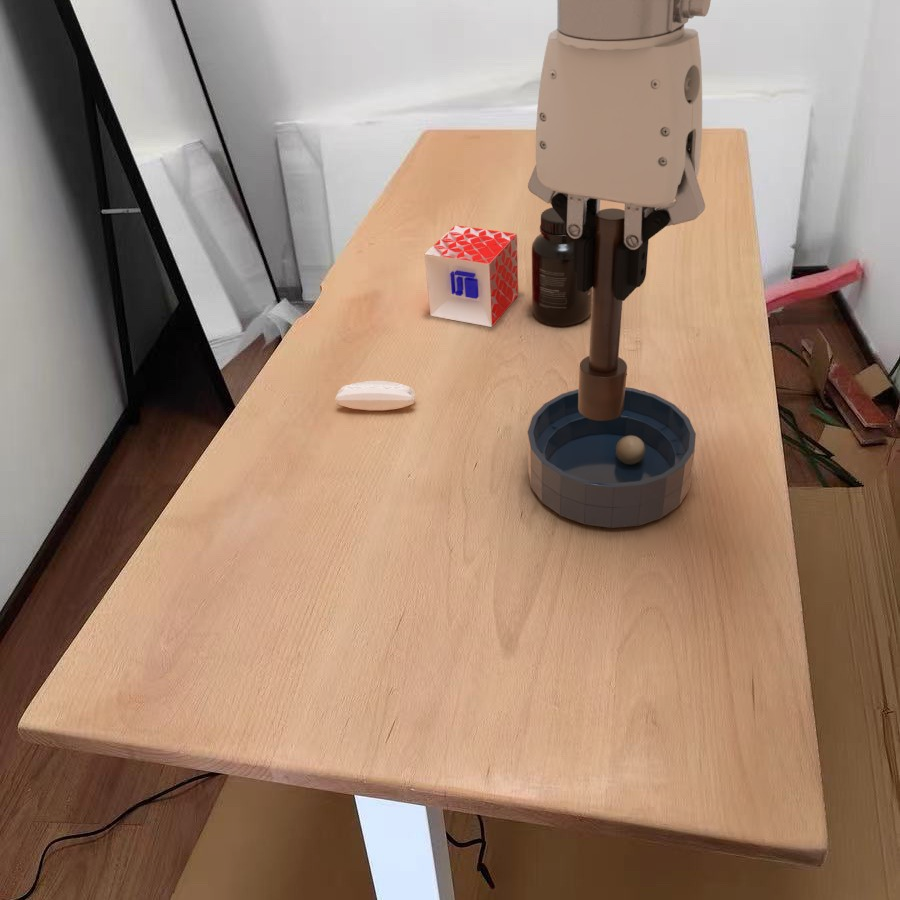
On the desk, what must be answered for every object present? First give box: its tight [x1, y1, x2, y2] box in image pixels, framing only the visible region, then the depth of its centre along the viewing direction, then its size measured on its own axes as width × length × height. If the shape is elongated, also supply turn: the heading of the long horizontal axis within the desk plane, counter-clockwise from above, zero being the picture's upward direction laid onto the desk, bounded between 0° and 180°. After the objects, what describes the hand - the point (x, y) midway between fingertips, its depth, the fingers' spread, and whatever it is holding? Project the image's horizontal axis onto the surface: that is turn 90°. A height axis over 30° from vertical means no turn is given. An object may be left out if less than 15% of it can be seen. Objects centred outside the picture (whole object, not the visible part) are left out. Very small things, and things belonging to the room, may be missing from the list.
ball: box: [616, 435, 645, 465], centre depth 77 cm, size 3×3×3 cm
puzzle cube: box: [424, 224, 519, 328], centre depth 100 cm, size 8×8×8 cm
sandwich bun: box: [334, 380, 416, 412], centre depth 87 cm, size 3×8×3 cm, turn 84°
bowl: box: [527, 387, 697, 529], centre depth 75 cm, size 14×14×5 cm
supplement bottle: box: [531, 206, 593, 327], centre depth 96 cm, size 7×7×12 cm
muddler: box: [578, 207, 628, 421], centre depth 64 cm, size 4×4×16 cm
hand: (608, 286), depth 62 cm, fingers closed on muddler, 2 cm apart
